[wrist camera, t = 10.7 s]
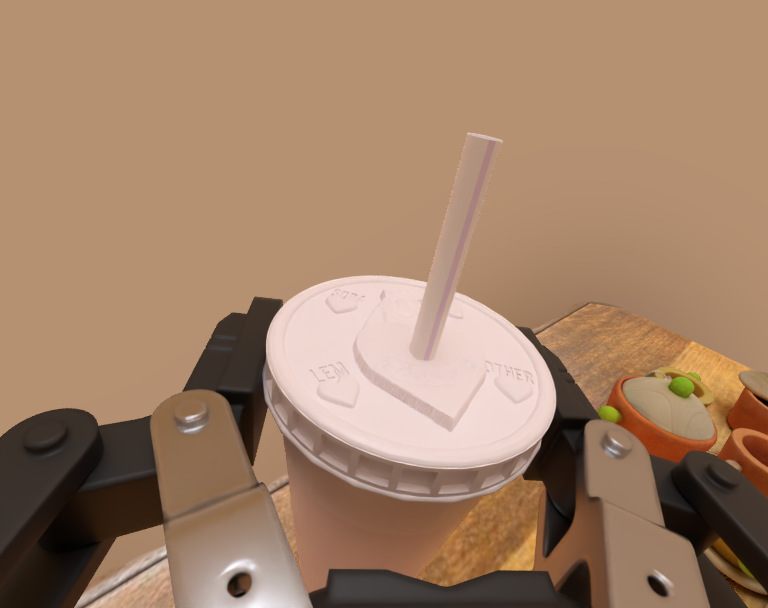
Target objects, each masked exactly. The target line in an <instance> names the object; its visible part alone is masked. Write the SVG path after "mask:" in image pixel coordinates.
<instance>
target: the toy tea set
mask: <svg viewBox="0 0 768 608" xmlns="http://www.w3.org/2000/svg"><path fill="white" fill-rule="evenodd" d="M739 379H740V381H741V382H742V384H743V385H744V386H745V388H744V390H743V391H742V393H741V395H740V397H739V398H738V400H737V402H736V403H735V405H734V407H733V409H732V410H731V412H730V414H729V416H728V418H727V419H728V423H729V425H730V426H731V427H732V429H733V432H732V433H731V435H730V436H729V438H728V440H727V441H726V443H725V445H724V447H723V448H722V450H721V451H720V453H719V455H718V456H717V457H718V458H720V459H722V460H724V461H725V462H727V463H729V464H730V465H732V466H733V467H734V468H736V469H737V470H738V471H739V472H741V473H742V474H743V475H744V476H745V477H746V478H747V479H748V480H749V481H750V482H751V483H752V484H753V485H754V486H755V487H756V488H757V489H758V490H760V491H761V492H762V493H763V494H764V495H765V496H766V497H767V498H768V374H767V373H764V372H759V371H742V372H741V373H739ZM713 401H714V396H713V394H712V392H711V391H710V390H709V388H708V387H707V386H706V385H704V384H703V383H702V382H701V379H700V377H699V376H698V375H697V374H695V373H685V372H683V371H680V370H678V369H674V368H670V367H660V368H657V369H656V370H655V371H652V372H650V373H648V374H647V375H646V376H645V377H640V376H627V377H624V378H622V379H620V380H619V381H617V382H616V384H615V385H614V387H613V389H612V392H611V394H610V397H609V399H608V402H607V404H606V406H603V407H601V408H600V409H599V410H598V415H599V416H600V418H601V419H602V420H606V421H610V422H612V423H615V424H617V425H619V426H621V427H623V428H625V429H626V430H628V431H629V432H630V433H632V434H633V435H634V436H635V437H636V438H638V439H639V440H640V442H641V443H642V444H643V445H644V447H645V448H646V450H647V452H648V454H651V455H654V456H657V457H660V458H663V459H666V460H669V461H672V462H676V463H678V462H679V461H680V460H681V459H682V458H683V457H684V456H685V455H686V454H687V453H688V452H689V451H694V450H695V451H703V452H706V451H707V450H709V449H710V448H711V447H712V446H713V445H714V444H715V442H716V441H717V429H716V427H715V425H714V423H713V421H712V419H711V417H710V414H709V412H708V411H707V409H706V407H707V406H709V405H710V404H711V403H712V402H713ZM704 553H705V555H706V556H707V557H708V558H709V560H710V561H711V562H712V563H713V565H714V566H715V567H716V568H717V569H719V570H720V571H721V572H722V573H724V574H725V575H727V576H728V577H729V578H731V579H732V580H734V581H735V582H737V583H739V584H740V585H742V586H744V587H746V588H748V589H750V590H752V591H755V592H758V593H761V594H765V595H768V594H767V592H766V591H765V589H764V588H763V587H762V586H761V585H760V583H759V582H758V581H757V580H756V579H755V578H754V576H753V575H752V574H751V573H750V572H749V571H748V569H747V568H746V567H745V566H744V565H743V564H742V562H741V561H740V560H739V559H738V558H737V557H736V555H735V554H734V553H733V552H732V551H731V550H730V548H729V547H728V546H727V545H726V544H725V543H724V541H723V540H722V539H721V538H719V539H718V540H717V541H716V542H715V543H714V544H712V545H711V546H710V547H709V548H708V549H707V550H705V551H704Z"/></svg>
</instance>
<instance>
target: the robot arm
mask: <svg viewBox="0 0 768 608" xmlns="http://www.w3.org/2000/svg"><path fill="white" fill-rule="evenodd" d="M282 306H283V301H282V300H280V299H272V298H263V297H254V299H253V301H252V304H251V306H250V309H249V311H248V313H247V314H242V313H231V314H230V315H228V316H227V317H225V318H224V319H223V320H221V321H220V322H219V323H218V324H217V326H216V328H215V330H214V332H213V334H212V336H211V339H210V340H209V342H208V343H207V346H206V349H205V350H204V351H203V353H202V355H201V357H200V359H199V361H198V363H197V364H196V366H195V368H194V370H193V372H192V374H191V376H190V378H189V380H188V382H187V384H186V386H185V388H184V390H183V391H182V392H181V393H178V394H176V395H174V396H172V397H170V398H168V399H166V400H165V401H164V402H162V403H161V404H160V405H159V406H158V407H157V408H156V410H155V411H154V412H153V414H152V415H150V416H147V417H144V418H140V419H135V420H130V421H124V422H118V423H113V424H107V425H101V426H98V423H97V421H96V419H95V417H94V416H93V415H91V414H90V413H89V412H86V411H84V410H79V409H72V408H71V409H70V408H66V409H57V410H51V411H47V412H43V413H40V414H37V415H35V416H32V417H30V418H28V419H26V420H24V421H22V422H20V423H18V424H17V425H15V426H14V427H12V428H11V429H10V430H8V431H7V432H6V433H5V434H3V435H2V436H1V437H0V608H74V607H75V605H76V604H77V602H78V600H79V599H80V597H81V595H82V594H83V592H84V590H85V589H86V587H87V585H88V584H89V582H90V580H91V579H92V577H93V576H94V574H95V572H96V570H97V569H98V567H99V565H100V564H101V562H102V561H103V559H104V557H105V556H106V554H107V552H108V551H109V549H110V547H111V546H112V544H113V543H114V541H115V539H116V538H117V537H119V536H122V535H126V534H129V533H133V532H137V531H140V530H143V529H147V528H151V527H154V526H158V525H161V524H163V526H164V534H165V542H166V549H167V555H168V562H169V569H170V576H171V583H172V590H173V597H174V603H175V608H748V607H747V606H746V605H745V603H744V602H743V601H742V600H741V598H740V597H739V596H738V595H737V593H736V592H735V591H734V590H733V588H732V587H731V586H730V585H729V583H728V582H727V581H726V580H725V578H724V577H723V576H722V575H721V573H720V572H719V571H718V570H717V568H716V567H715V566H714V565H713V563H712V562H711V561H710V560H709V558H708V557H707V556H706V555H705V553H704V551H705V550H707V549H708V548H709V547H710V546H711V545H712V544H714V543H715V542H716V541H717V540H718V539H719V538H721V539H722V540H723V541H724V543H725V544H726V545H727V546H728V547H729V548H730V550H731V551H732V552H733V553H734V554H735V555H736V557H737V558H738V559H739V560H740V561H741V562H742V564H743V565H744V566H745V567H746V568H747V569H748V571H749V572H750V573H751V574H752V575H753V576H754V578H755V579H756V580H757V581H758V582H759V583H760V585H761V586H762V587H763V588H764V589H765V591H766V592H767V594H768V498H767V497H766V496H765V495H764V494H763V493H762V492H761V491H760V490H758V489H757V488H756V487H755V486H754V485H753V484H752V483H751V482H750V481H749V480H748V479H747V478H746V477H745V476H744V475H743V474H742V473H741V472H739V471H738V470H737V469H736V468H734V467H733V466H732V465H730V464H729V463H727V462H725V461H724V460H722V459H720V458H718V457H716V456H714V455H712V454H709V453H706V452H703V451H695V450H694V451H689V452H688V453H687V454H686V455H685V456H684V457H683V458H682V459H681V460H680V461H679V462H678V463H676V462H672V461H669V460H666V459H663V458H660V457H657V456H654V455H651V454H648V452H647V450H646V448H645V447H644V445H643V444H642V443H641V442H640V440H639V439H638V438H636V437H635V436H634V435H633V434H632V433H630V432H629V431H628V430H626V429H625V428H623V427H621V426H619V425H617V424H615V423H612V422H610V421H606V420H602V419H601V418H600V416H599V415H598V413H597V412H596V410H595V409H594V408H593V406H592V405H591V403H590V402H589V401H588V399H587V398H586V396H585V395H584V393H583V392H582V391H581V389H580V388H579V386H578V385H577V384H575V381H574V379H573V378H572V376H571V375H570V373H567V369H566V368H565V366H564V365H563V363H562V362H561V361H560V359H559V358H558V357H557V356H556V355H555V354H553V353H552V352H551V351H550V350H549V349H547V348H546V347H545V346H542V345H541V343H540V342H539V340H538V339H537V338H536V336H535V335H534V333H533V332H532V330H531V329H530V328H526V327H517V326H515V327H516V328H517V329H519V330H520V331H521V332H522V333H523V334H524V335H525V337H526V338H527V339H528V340H529V341H530V342H531V343H532V344H533V345H534V346H535V348H536V349H537V351H538V352H539V353H540V355H541V356H542V358H543V359H544V361H545V363H546V365H547V367H548V369H549V371H550V373H551V376H552V378H553V381H554V386H555V390H556V409H555V413H554V416H553V419H552V422H551V424H550V426H549V428H548V430H547V431H546V433H545V434H544V436H543V437H542V440H541V447H540V449H539V451H538V452H537V454H536V455H535V457H534V458H533V460H532V461H531V463H530V465H529V466H528V468H527V469H526V471H525V472H524V474H522V475H523V478H524V480H535V481H543V483H544V485H545V489H544V490H543V492H542V494H541V496H540V500H539V512H538V524H537V536H536V547H535V559H534V566H533V571H503V570H498V571H495V572H492V573H489V574H486V575H483V576H480V577H477V578H474V579H471V580H468V581H465V582H462V583H459V584H456V585H454V586H450V587H443V586H439V585H436V584H433V583H429V582H426V581H423V580H419V579H416V578H413V577H410V576H406V575H403V574H400V573H397V572H393V571H390V570H387V569H329V572H328V577H327V581H326V586H325V587H324V588H321V589H318V590H315V591H312V592H310V593H307V590H306V588H305V585H304V583H303V580H302V577H301V575H300V572H299V569H298V567H297V564H296V561H295V559H294V556H293V553H292V551H291V548H290V545H289V543H288V540H287V537H286V535H285V532H284V529H283V527H282V524H281V521H280V519H279V516H278V513H277V511H276V508H275V506H274V503H273V500H272V498H271V495H270V493H269V491H268V489H267V487H266V485H265V484H264V483H263V482H261V483H258V481H257V479H256V477H255V475H254V471H253V469H252V466H253V465H254V461H255V457H256V452H257V449H258V444H259V441H260V436H261V432H262V428H263V424H264V421H265V416H266V413H267V408H268V406H267V404H266V402H265V397H264V388H263V379H262V371H263V367H264V364H265V361H266V339H267V333H268V330H269V327H270V324H271V322H272V320H273V318H274V316H275V315H276V314H277V312H278V311H279V310H280V308H281V307H282Z"/></svg>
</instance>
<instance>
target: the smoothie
mask: <svg viewBox="0 0 768 608" xmlns="http://www.w3.org/2000/svg"><path fill="white" fill-rule="evenodd" d="M502 143H503V141H502V140H500V139H497V138H493V137H489V136H485V135H481V134H475V133H468V134H467V137H466V140H465V144H464V148H463V151H462V155H461V159H460V162H459V166H458V170H457V174H456V177H455V181H454V185H453V188H452V192H451V196H450V200H449V203H448V207H447V211H446V215H445V218H444V222H443V226H442V229H441V233H440V237H439V241H438V244H437V248H436V252H435V255H434V259H433V263H432V266H431V270H430V274H429V277H428V281H427V283H426V282H422V281H417V280H412V279H407V278H399V277H390V276H355V277H345V278H340V279H335V280H331V281H326V282H324V283H321V284H318V285H315V286H313V287H310V288H308V289H306V290H304V291H302V292H301V293H299V294H298V295H296V296H294V297H293V298H291V299H290V300H289V301H288V302H286V304H284V305H283V306H282V307H281V308H280V310H279V311H278V312H277V314H276V315H275V316H274V318H273V320H272V322H271V324H270V327H269V330H268V333H267V339H266V361H265V364H264V367H263V371H262V379H263V388H264V397H265V402H266V404H267V406H268V408H269V409H270V411H271V413H272V415H273V417H274V419H275V421H276V423H277V425H278V427H279V429H280V431H281V433H282V434H283V438H284V445H285V452H286V459H287V468H288V476H289V485H290V493H291V502H292V510H293V519H294V527H295V535H296V544H297V552H298V561H299V569H300V575H301V577H302V580H303V583H304V585H305V588H306V590H307V593H310V592H312V591H315V590H318V589H321V588H324V587H325V586H326V581H327V577H328V572H329V569H387V570H390V571H393V572H397V573H400V574H403V575H406V576H410V577H413V578H416V577H417V576H418V575H419V574H420V572H421V571H422V570H423V569H424V567H425V566H426V565H427V564H428V562H429V561H430V560H431V559H432V558H433V556H434V555H435V554H436V553H437V551H438V550H439V549H440V548H441V547H442V545H443V544H444V543H445V542H446V540H447V539H448V538H449V537H450V535H451V534H452V533H453V532H454V531H455V529H456V528H457V527H458V526H459V524H460V523H461V522H462V521H463V519H464V518H465V517H466V516H467V515H468V513H469V512H470V511H471V510H472V509H473V508H474V507H475V506H476V505H477V503H478V502H479V501H480V499H481V498H482V497H483V496H485V495H489V494H493V493H495V492H497V491H498V490H500V489H501V488H503V487H504V486H506V485H507V484H509V483H510V482H512V481H513V480H515V479H516V478H518V477H519V476H521V475H522V474H524V472H525V471H526V469H527V468H528V466H529V465H530V463H531V461H532V460H533V458H534V457H535V455H536V454H537V452H538V451H539V449H540V447H541V440H542V437H543V436H544V434H545V433H546V431H547V430H548V428H549V426H550V424H551V422H552V419H553V416H554V413H555V409H556V390H555V386H554V381H553V378H552V376H551V373H550V371H549V369H548V367H547V365H546V363H545V361H544V359H543V358H542V356H541V355H540V353H539V352H538V351H537V349H536V348H535V346H534V345H533V344H532V343H531V342H530V341H529V340H528V339H527V338H526V337H525V335H524V334H523V333H522V332H521V331H520V330H519V329H517V328H516V327H515V326H514V325H512V324H511V323H510V322H509V321H507V320H506V319H505V318H504V317H502V316H501V315H499V314H498V313H496V312H494V311H493V310H491V309H489V308H488V307H486V306H485V305H483V304H481V303H479V302H477V301H475V300H473V299H471V298H469V297H467V296H464V295H462V294H460V293H457V292H455V291H456V288H457V285H458V282H459V279H460V276H461V272H462V269H463V266H464V263H465V260H466V256H467V253H468V250H469V247H470V244H471V241H472V238H473V235H474V231H475V228H476V225H477V222H478V218H479V216H480V212H481V209H482V206H483V203H484V200H485V197H486V193H487V190H488V187H489V184H490V181H491V177H492V175H493V171H494V168H495V165H496V162H497V159H498V156H499V152H500V149H501V146H502Z"/></svg>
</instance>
